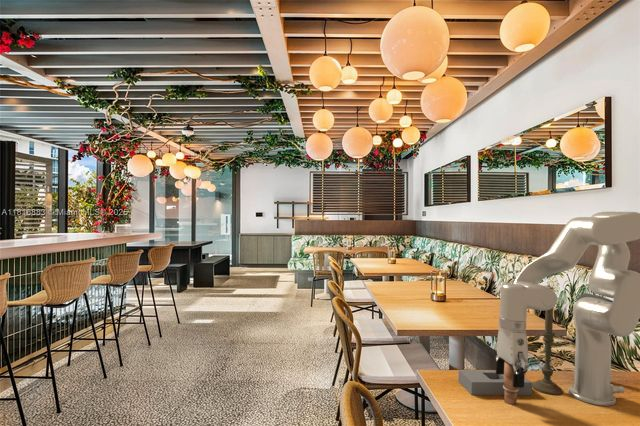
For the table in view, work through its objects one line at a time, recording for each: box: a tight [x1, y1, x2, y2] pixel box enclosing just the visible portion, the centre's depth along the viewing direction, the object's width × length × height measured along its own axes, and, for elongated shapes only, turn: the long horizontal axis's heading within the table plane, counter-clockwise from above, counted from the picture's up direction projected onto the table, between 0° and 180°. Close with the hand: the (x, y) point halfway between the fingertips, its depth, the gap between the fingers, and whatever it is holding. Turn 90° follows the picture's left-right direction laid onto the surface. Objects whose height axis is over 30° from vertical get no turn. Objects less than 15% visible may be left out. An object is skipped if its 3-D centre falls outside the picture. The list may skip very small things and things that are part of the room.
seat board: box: [457, 369, 533, 396], centre depth 133 cm, size 20×10×4 cm, turn 94°
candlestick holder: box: [532, 307, 563, 396], centre depth 134 cm, size 9×9×30 cm
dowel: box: [503, 361, 520, 406], centre depth 123 cm, size 4×4×12 cm
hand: (509, 380), depth 123 cm, fingers open, 9 cm apart
